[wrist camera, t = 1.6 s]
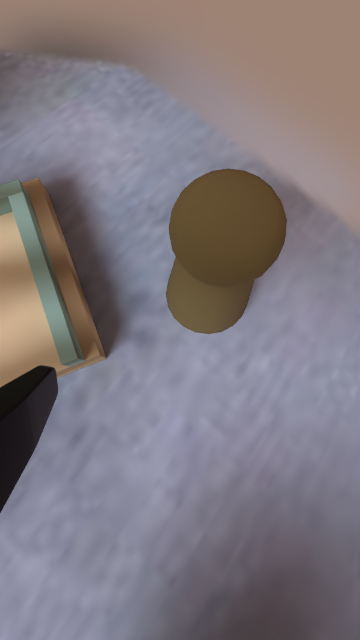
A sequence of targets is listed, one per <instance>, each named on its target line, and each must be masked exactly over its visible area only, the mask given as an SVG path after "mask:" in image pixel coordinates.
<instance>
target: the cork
mask: <svg viewBox="0 0 360 640" xmlns="http://www.w3.org/2000/svg"><path fill="white" fill-rule="evenodd" d="M286 222H287V219H286V216H285V212H284V209H283V205H282V203H281V201H280V199H279V198H278V196H277V195H276V193H275V192H274V190H273V189H272V187H271V186H270V185H268V184H267V183H266V182H265V181H263V180H262V179H261V178H260V177H258V176H256V175H253V174H251V173H248V172H246V171H242V170H235V169H223V170H216V171H212V172H209V173H207V174H205V175H203V176H201V177H199V178H197V179H195V180H194V181H193V182H192V183H190V184H189V185H188V186H187V187H186V188H185V189H184V190H183V191H182V192H181V194H180V196H179V197H178V199H177V201H176V203H175V205H174V207H173V209H172V212H171V218H170V224H169V235H170V240H171V246H172V250H173V252H174V254H175V256H176V258H175V261H174V265H173V268H172V271H171V274H170V277H169V281H168V285H167V291H166V297H167V303H168V307H169V309H170V311H171V313H172V315H173V316H174V318H175V319H176V320H177V321H178V322H179V323H180V324H181V325H183V326H184V327H186V328H188V329H190V330H192V331H194V332H198V333H205V334H211V333H217V332H222V331H224V330H226V329H228V328H230V327H231V326H233V325H234V324H235V323H236V322H237V321H238V320H239V319H240V318H241V316H242V314H243V312H244V310H245V308H246V306H247V302H248V299H249V295H250V292H251V289H252V285H253V282H254V279H256V278H258V277H260V276H262V275H263V274H264V273H265V272H266V271H267V270H268V268H269V267H270V266H271V265H272V264H273V263H274V262H275V261H276V259H277V258H278V256H279V254H280V251H281V249H282V247H283V245H284V242H285V236H286Z"/></svg>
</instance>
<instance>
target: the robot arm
mask: <svg viewBox="0 0 360 640" xmlns="http://www.w3.org/2000/svg"><path fill="white" fill-rule="evenodd" d="M57 394H58V383H57V375H56V370H55V368H54V367H50V366H44V365H39V366H37V367H35V368H33V369H31V370H30V371H28V372H26V373H24V374H23V375H21V376H19V377H17V378H15V379H14V380H12V381H10V382H8V383H7V384H5V385H3V386H1V387H0V513H1V511H2V509H3V507H4V505H5V504H6V502H7V500H8V498H9V496H10V494H11V493H12V491H13V489H14V487H15V485H16V483H17V482H18V480H19V478H20V476H21V474H22V472H23V471H24V469H25V467H26V465H27V463H28V461H29V459H30V458H31V456H32V454H33V452H34V450H35V448H36V446H37V443H38V441H39V439H40V436H41V434H42V432H43V429H44V427H45V424H46V422H47V419H48V417H49V415H50V412H51V410H52V407H53V405H54V402H55V400H56V397H57Z"/></svg>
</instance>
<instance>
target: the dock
mask: <svg viewBox="0 0 360 640" xmlns="http://www.w3.org/2000/svg"><path fill="white" fill-rule="evenodd" d="M104 359H106V356H105V353H104V350H103V347H102V344H101V341H100V339H99V336H98V333H97V330H96V327H95V324H94V321H93V319H92V316H91V313H90V310H89V307H88V304H87V301H86V299H85V296H84V293H83V290H82V287H81V284H80V282H79V279H78V276H77V273H76V270H75V267H74V264H73V262H72V259H71V256H70V253H69V250H68V247H67V244H66V242H65V239H64V236H63V233H62V230H61V227H60V224H59V222H58V219H57V216H56V213H55V210H54V207H53V204H52V202H51V199H50V196H49V194H48V192H47V191H46V189H45V188H44V186H43V184H42V183H41V181H40V180H39V178H36V179H33V180H30V181H27V182H24V183H21V182H20V181H19V180H16V181H13V182H10V183H7V184H4V185H1V186H0V387H1V386H3V385H5V384H7V383H8V382H10V381H12V380H14V379H15V378H17V377H19V376H21V375H23V374H24V373H26V372H28V371H30V370H31V369H33V368H35V367H37V366H39V365H44V366H50V367H54V368H55V370H56V375H57V378H58V377H61V376H63V375H66V374H68V373H71V372H74V371H76V370H79V369H81V368H84V367H86V366H89V365H91V364H94V363H96V362H99V361H102V360H104Z"/></svg>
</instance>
